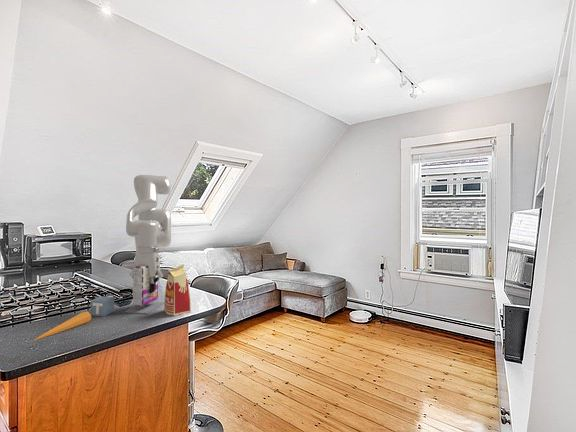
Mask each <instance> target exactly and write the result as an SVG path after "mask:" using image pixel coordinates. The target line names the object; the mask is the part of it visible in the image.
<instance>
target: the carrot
mask: <svg viewBox="0 0 576 432" xmlns="http://www.w3.org/2000/svg"><path fill="white" fill-rule="evenodd" d="M91 320H92V315H90V312H89V311H82V312H80V313H78V314H77V315H74V316H73V317H70V319H67V320H66V321H64V322H63V323H61V324H59V325H56V326H55V327H53V328H52V329H49V330H48V331H46V332H44V333H42V334H41V335H40V336H38V337H36V338H35V339H33V340H32V342H34V341H38V340H40V339H43V338H47V337H50V336H53V335H55V334H56V335H57V334H59V333H62V332H65V331H69V330H70V329H74V328H77V327H79V326H83V325H85V324H87V323H89V322H90V321H91Z"/></svg>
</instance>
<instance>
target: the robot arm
mask: <svg viewBox="0 0 576 432" xmlns="http://www.w3.org/2000/svg"><path fill="white" fill-rule="evenodd" d="M133 187H134V191H135V194H136V197H137V200H138V201H137V202H136V203H134V204H133V205H132V206H131V207H130V209H129V210H128V212H127V214H126V221H125V222H126V225H125V231H126V235H127V236H129V237H133V238H134V243H135V251H136V252H135V255H134V260H133V266H132V268H133V267H135V266H148V274H149V277H150V280H151V284H150V293H153V292H155V290H156V282H157V281H158V282H159V280H160V279H162V278H163V277H164V274H163V273H162V271H161V265H160V256H159V253H158V252H159V251H160V248H165V247H169V246H170V245H171V242H172V218H171V217H172V216H171V213H170V210H168V209H163V208H160V209H159V208H157V206H158V195H169V193H170V192H171V180H170V178H169V177H168V176H166V175H154V174H153V175H152V174H149V175H148V174H138V175H136V176H135V177H134V178H133ZM137 216H138V217H137ZM136 217H137V218H138V219H135V218H136ZM128 275H129V276H130V277H131V278H132V279H133V269H132V270H131V271H130V272H129V274H128ZM156 275H158V277H157V278H156ZM159 287H160V286H159V285H158V288H159ZM131 290H132V291H133V286H132V287H131Z"/></svg>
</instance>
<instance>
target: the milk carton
mask: <svg viewBox="0 0 576 432" xmlns="http://www.w3.org/2000/svg"><path fill="white" fill-rule="evenodd" d="M184 266H185V264H184V263H183V264H181V265H178V266H176V267H173V268H170V269H168V270H167V271H168V273H167V278H166V283H165V284H166V285H165V294H164V301H163V302H164V304H163V308H164V309H163V310H164V312H165V313H166V315H169V316H180V315H183V314H184V313H185V314H189V313H188V312H190V313H191V312H192V310H191V308H192V306H191V300H192V299H191V291H190V285H189V280H188V277H187V273H186V269H185V267H184ZM179 314H180V315H179ZM185 314H184V315H185Z"/></svg>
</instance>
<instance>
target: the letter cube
mask: <svg viewBox="0 0 576 432" xmlns="http://www.w3.org/2000/svg"><path fill="white" fill-rule="evenodd" d="M114 312H115V297H113V296H100V295H99V296H97V297H96V298H94V299H91V300H90V312H89V313H90V315H91V316H97V317H106V316H108V315H109V314H112V313H114Z"/></svg>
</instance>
